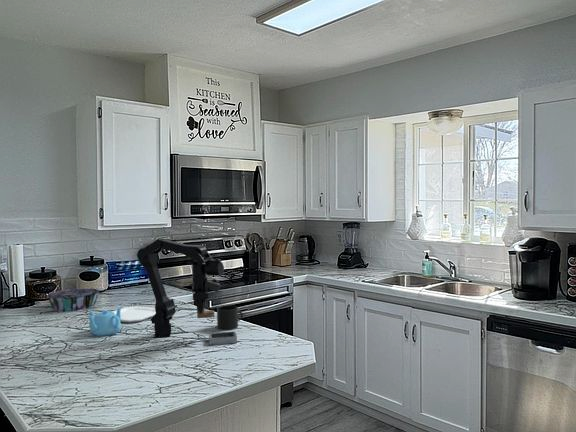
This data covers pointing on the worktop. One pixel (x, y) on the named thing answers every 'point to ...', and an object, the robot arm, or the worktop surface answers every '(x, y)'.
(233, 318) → the mug
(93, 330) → the teapot
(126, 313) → the plate
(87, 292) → the decorative bowl
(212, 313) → the tan toy chair
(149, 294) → the worktop surface
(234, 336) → the grey rectangular tray
